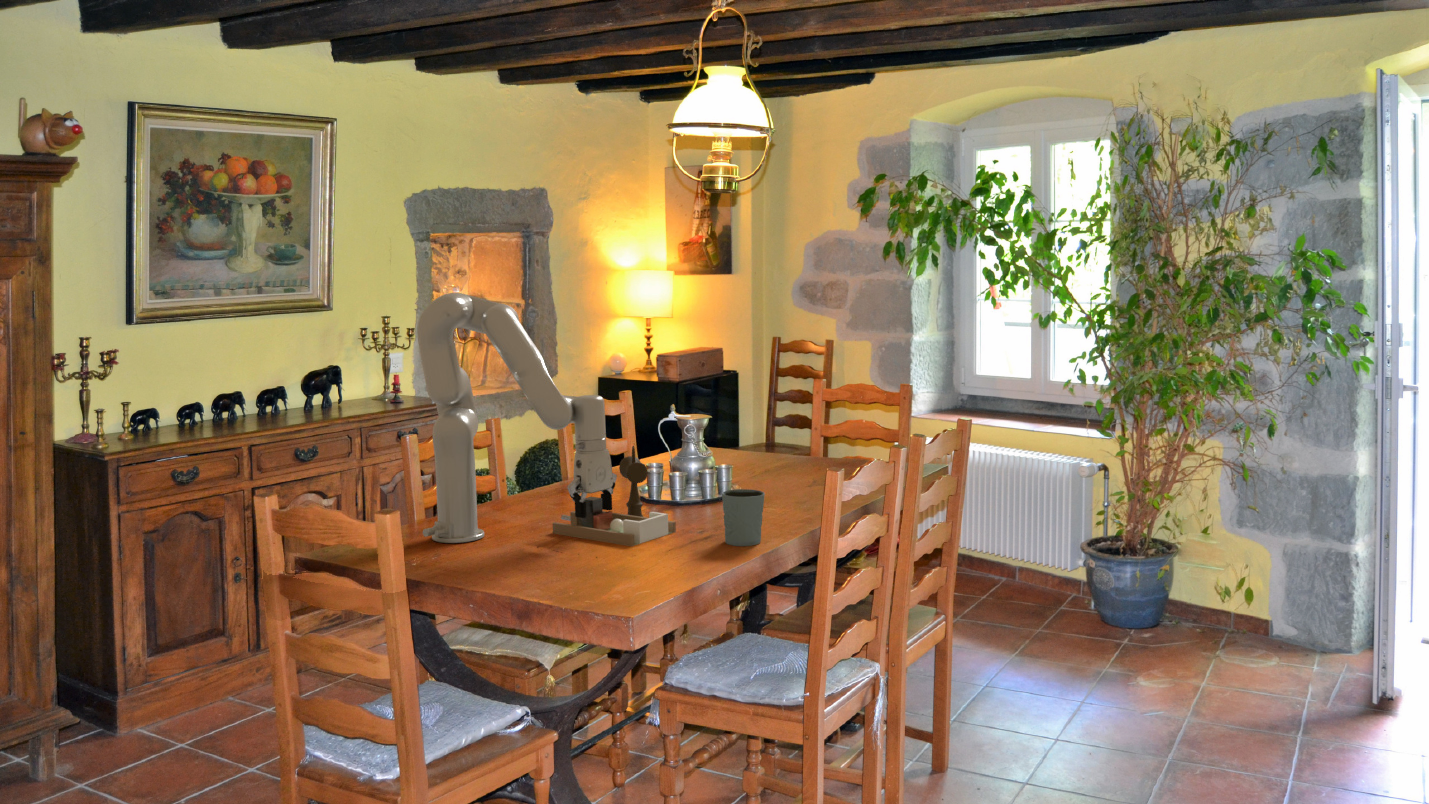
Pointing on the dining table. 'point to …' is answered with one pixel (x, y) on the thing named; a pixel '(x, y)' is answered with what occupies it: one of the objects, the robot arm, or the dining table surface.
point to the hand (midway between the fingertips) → (594, 513)
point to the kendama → (633, 481)
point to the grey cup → (743, 516)
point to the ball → (617, 525)
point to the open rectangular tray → (633, 529)
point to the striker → (594, 515)
